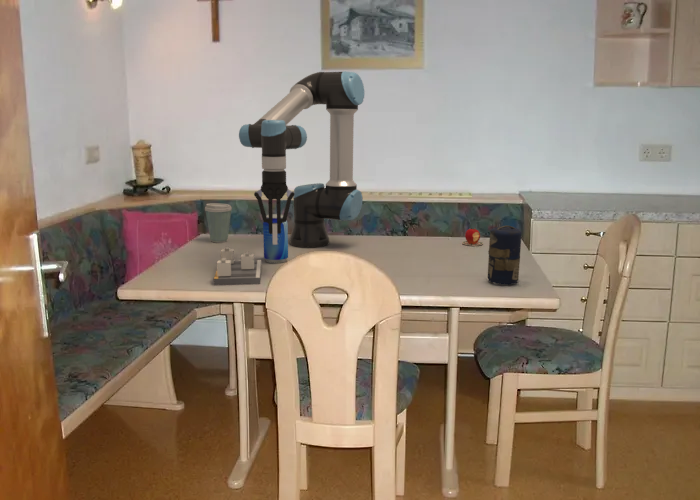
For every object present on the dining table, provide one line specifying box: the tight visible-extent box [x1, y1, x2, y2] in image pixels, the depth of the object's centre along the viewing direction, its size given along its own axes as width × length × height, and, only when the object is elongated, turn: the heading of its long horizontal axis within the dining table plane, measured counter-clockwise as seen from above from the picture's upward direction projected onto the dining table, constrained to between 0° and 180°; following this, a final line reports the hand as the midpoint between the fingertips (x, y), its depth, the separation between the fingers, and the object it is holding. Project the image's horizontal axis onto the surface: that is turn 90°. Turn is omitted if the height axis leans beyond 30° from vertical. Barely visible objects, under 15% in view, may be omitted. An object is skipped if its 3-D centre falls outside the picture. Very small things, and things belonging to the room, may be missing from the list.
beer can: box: [262, 213, 289, 264], centre depth 240 cm, size 8×8×16 cm
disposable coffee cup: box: [204, 203, 233, 244], centre depth 272 cm, size 11×11×15 cm
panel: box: [213, 246, 262, 286], centre depth 222 cm, size 14×23×7 cm, turn 6°
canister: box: [487, 225, 522, 286], centre depth 213 cm, size 10×10×18 cm
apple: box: [461, 228, 484, 247], centre depth 269 cm, size 8×8×6 cm
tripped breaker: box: [240, 251, 255, 269], centre depth 222 cm, size 4×4×5 cm
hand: (275, 243), depth 222 cm, fingers closed
